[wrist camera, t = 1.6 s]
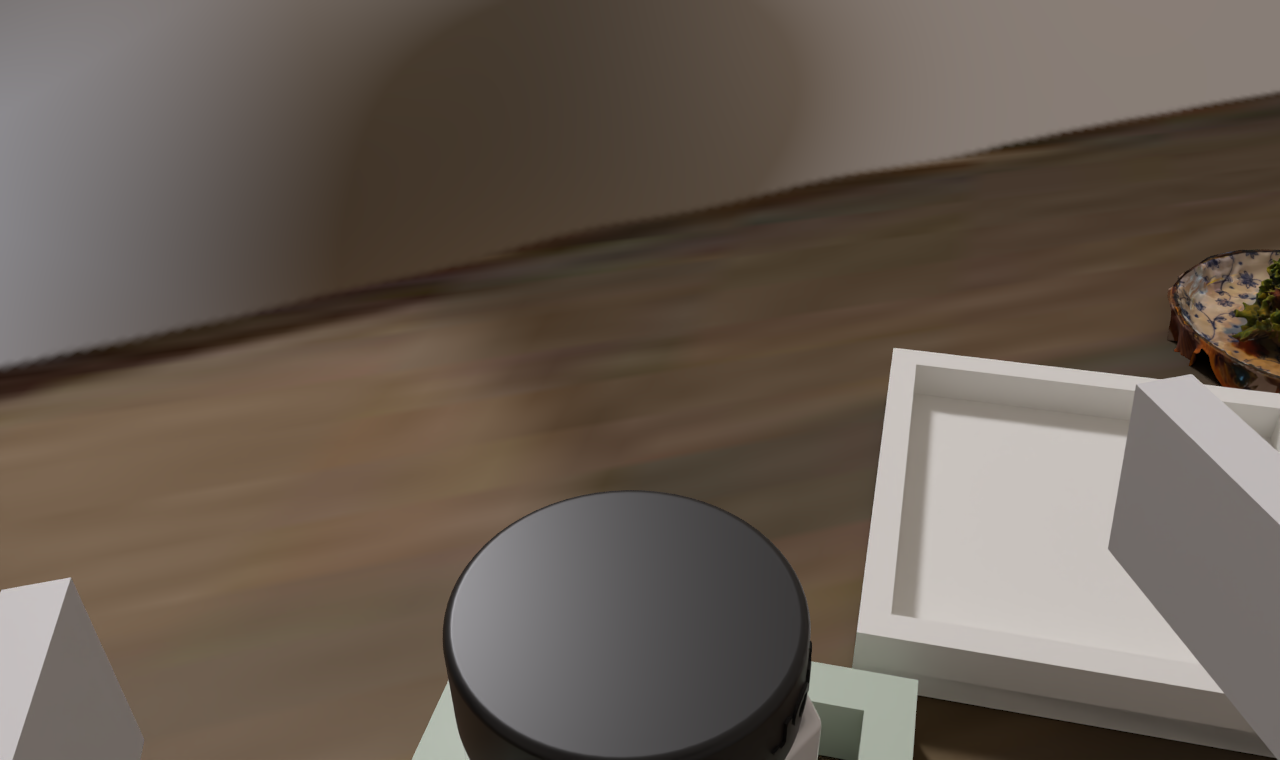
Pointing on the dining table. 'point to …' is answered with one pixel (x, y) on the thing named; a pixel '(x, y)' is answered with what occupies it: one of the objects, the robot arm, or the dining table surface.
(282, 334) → the dining table surface
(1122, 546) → the robot arm
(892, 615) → the tray
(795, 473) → the dining table surface
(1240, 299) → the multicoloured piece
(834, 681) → the pale green square frame
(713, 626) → the jar
